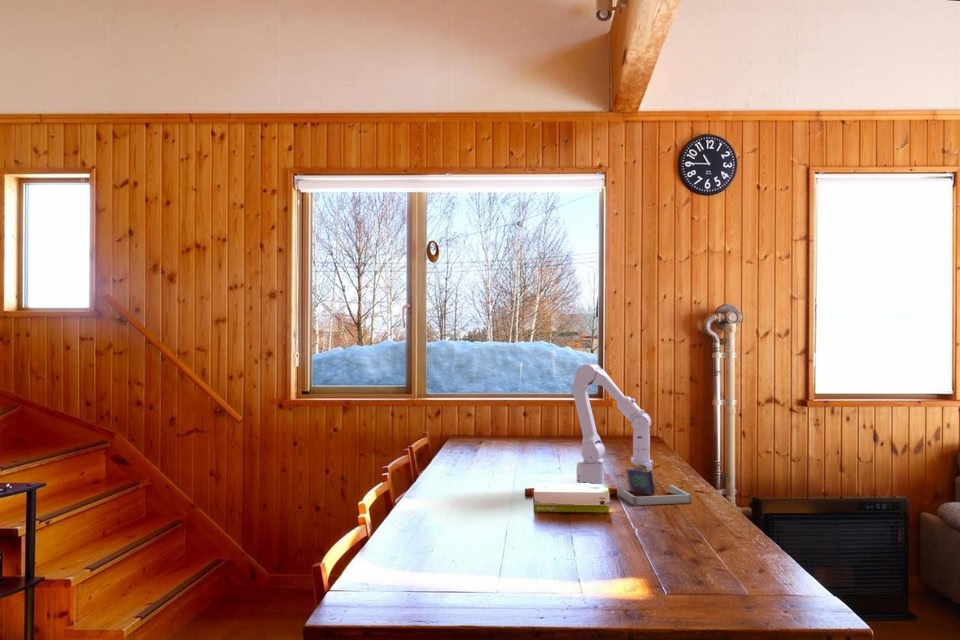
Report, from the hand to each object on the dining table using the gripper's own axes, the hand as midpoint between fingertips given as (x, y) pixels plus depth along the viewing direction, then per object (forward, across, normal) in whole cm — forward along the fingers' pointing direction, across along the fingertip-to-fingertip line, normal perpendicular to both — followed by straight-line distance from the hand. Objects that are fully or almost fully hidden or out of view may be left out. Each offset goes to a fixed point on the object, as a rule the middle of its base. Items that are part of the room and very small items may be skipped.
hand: (641, 487), depth 258 cm
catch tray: (+1, -10, 0) cm, 10 cm away
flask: (+1, -2, 0) cm, 2 cm away
